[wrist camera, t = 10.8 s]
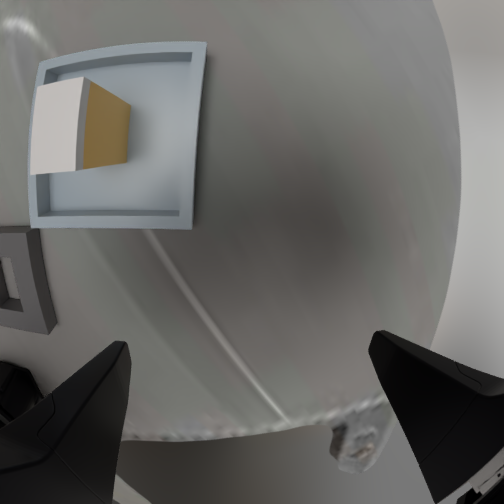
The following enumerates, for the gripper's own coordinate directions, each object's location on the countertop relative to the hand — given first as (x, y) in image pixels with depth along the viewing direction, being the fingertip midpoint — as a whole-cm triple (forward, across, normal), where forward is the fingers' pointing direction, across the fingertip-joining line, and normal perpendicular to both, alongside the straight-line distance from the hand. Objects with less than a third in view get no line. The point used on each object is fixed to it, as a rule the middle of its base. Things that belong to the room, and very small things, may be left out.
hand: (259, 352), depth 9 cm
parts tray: (+12, +8, -8) cm, 17 cm away
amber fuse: (+12, +8, -8) cm, 16 cm away
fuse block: (+12, +20, +3) cm, 23 cm away
